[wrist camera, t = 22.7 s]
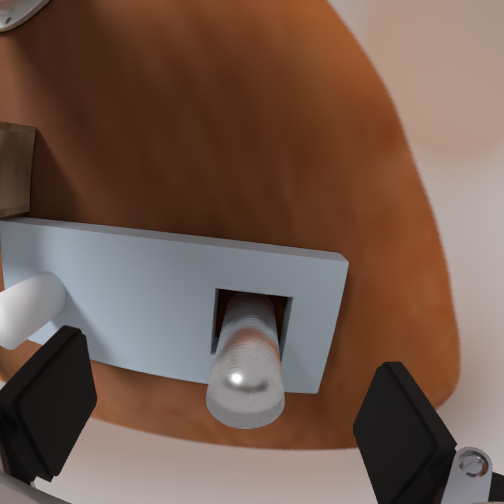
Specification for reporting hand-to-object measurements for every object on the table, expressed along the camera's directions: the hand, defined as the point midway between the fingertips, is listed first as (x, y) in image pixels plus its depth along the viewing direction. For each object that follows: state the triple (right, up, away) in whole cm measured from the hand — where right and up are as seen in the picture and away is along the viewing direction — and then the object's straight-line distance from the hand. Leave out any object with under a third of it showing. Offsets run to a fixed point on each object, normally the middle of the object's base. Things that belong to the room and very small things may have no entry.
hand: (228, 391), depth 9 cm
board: (-7, +1, +13) cm, 15 cm away
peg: (+1, 0, +13) cm, 13 cm away
